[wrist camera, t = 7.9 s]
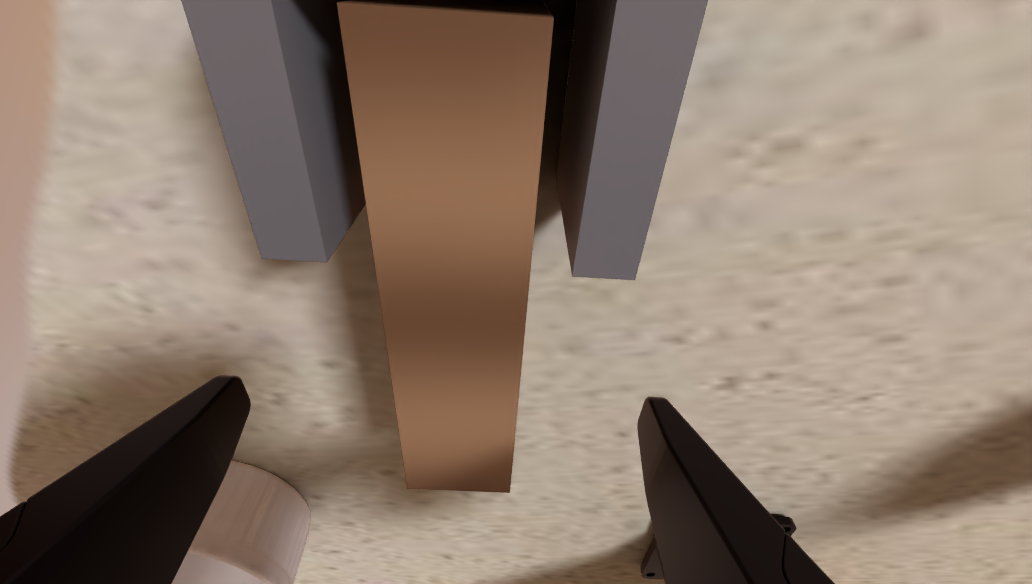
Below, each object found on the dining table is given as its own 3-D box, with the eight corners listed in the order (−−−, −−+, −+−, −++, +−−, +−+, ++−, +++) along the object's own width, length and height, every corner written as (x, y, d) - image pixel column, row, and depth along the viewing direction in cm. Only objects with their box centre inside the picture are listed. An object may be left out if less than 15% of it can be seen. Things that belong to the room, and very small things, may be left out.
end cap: (598, 179, 13) (634, 279, 9) (346, 163, 12) (262, 258, 8) (648, -104, 9) (749, -160, 5) (299, -132, 9) (114, -214, 5)
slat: (512, 369, 17) (509, 492, 13) (433, 366, 17) (407, 488, 13) (541, -2, 10) (553, 17, 6) (409, -12, 10) (336, 2, 6)
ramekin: (126, 511, 24) (57, 607, 20) (150, 420, 19) (67, 522, 16) (294, 556, 26) (259, 647, 23) (348, 486, 22) (315, 584, 18)
